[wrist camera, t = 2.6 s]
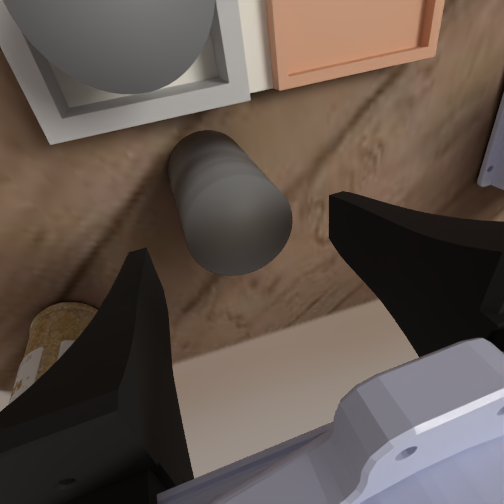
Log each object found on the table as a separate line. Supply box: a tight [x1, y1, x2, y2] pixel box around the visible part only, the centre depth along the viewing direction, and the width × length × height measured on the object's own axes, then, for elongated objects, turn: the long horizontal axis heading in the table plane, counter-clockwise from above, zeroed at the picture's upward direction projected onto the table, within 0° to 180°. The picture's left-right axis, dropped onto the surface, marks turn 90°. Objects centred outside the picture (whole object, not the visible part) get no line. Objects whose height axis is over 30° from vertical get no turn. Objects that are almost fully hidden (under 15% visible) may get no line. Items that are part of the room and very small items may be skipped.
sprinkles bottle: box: [9, 302, 98, 404], centre depth 16 cm, size 5×5×13 cm
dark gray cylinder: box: [168, 130, 292, 276], centre depth 16 cm, size 4×4×7 cm
